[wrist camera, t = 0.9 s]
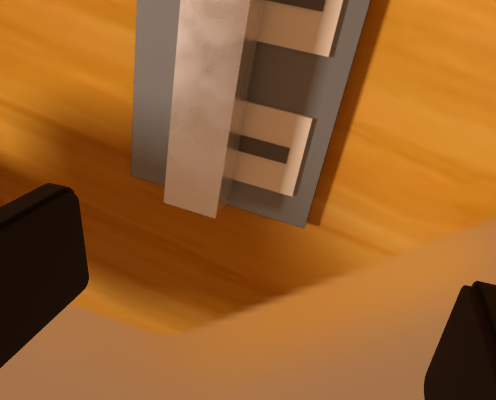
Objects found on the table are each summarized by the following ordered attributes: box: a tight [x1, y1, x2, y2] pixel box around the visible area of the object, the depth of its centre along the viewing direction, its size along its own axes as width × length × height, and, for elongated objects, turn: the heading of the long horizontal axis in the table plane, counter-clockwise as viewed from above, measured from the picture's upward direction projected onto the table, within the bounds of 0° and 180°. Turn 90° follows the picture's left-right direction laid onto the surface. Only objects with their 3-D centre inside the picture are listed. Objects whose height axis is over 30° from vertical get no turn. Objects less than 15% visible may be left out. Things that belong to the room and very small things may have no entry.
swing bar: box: [163, 0, 264, 219], centre depth 24 cm, size 4×24×4 cm, turn 169°
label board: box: [131, 0, 370, 228], centre depth 26 cm, size 15×26×1 cm, turn 169°
